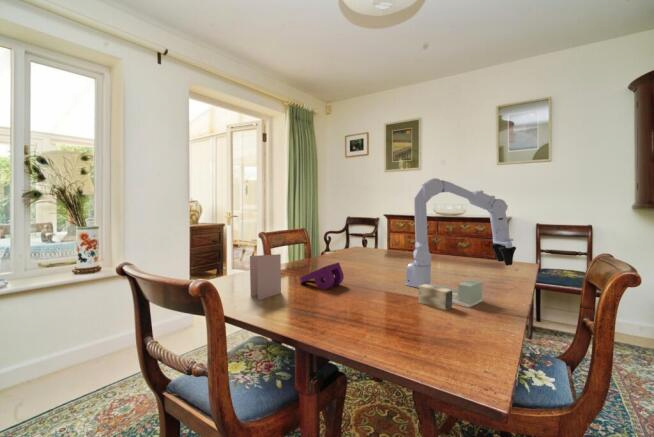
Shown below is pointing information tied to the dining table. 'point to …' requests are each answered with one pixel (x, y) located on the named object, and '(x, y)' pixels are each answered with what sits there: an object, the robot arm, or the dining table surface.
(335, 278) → the mounting bracket
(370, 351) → the dining table surface
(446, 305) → the beige and brown block
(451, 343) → the dining table surface
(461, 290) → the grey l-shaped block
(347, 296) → the dining table surface
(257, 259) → the greeting card
